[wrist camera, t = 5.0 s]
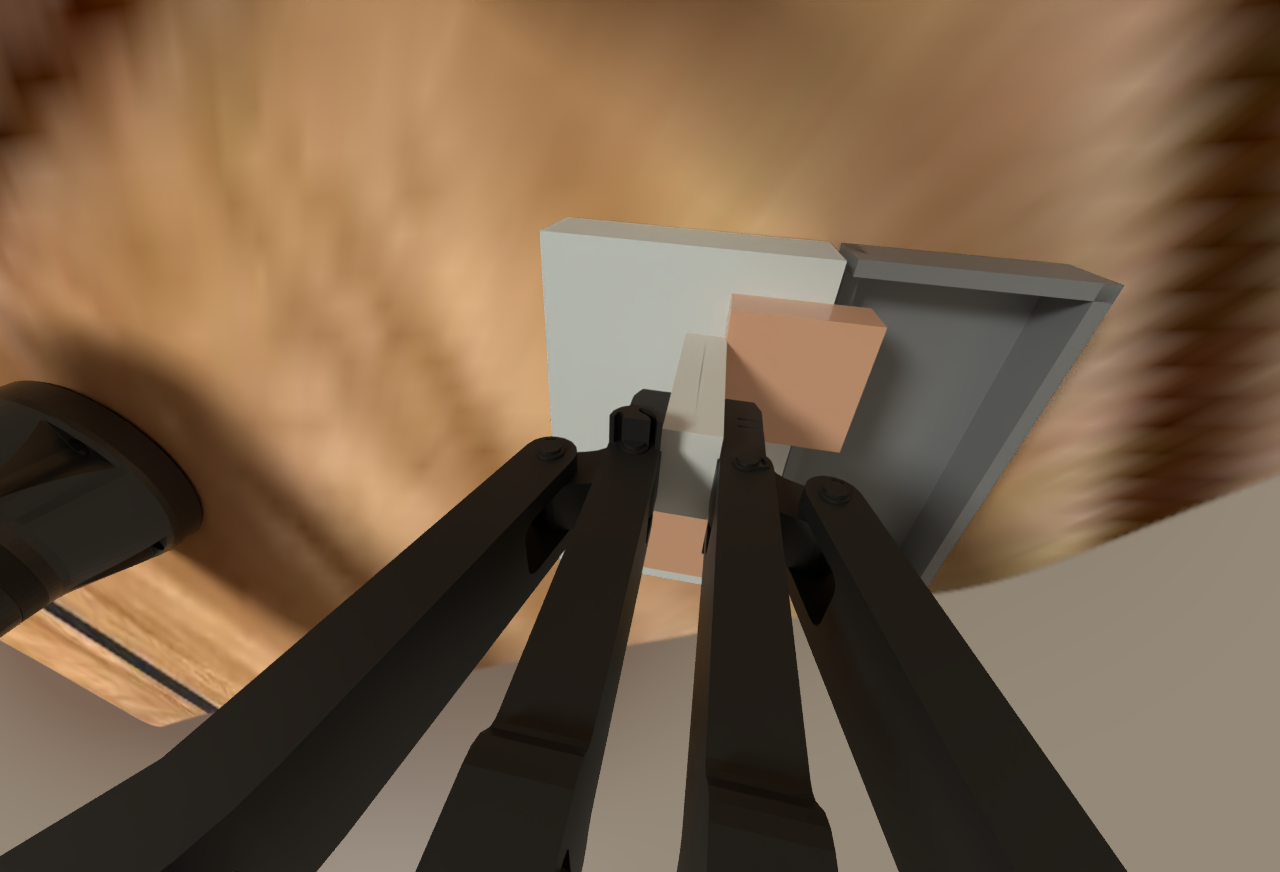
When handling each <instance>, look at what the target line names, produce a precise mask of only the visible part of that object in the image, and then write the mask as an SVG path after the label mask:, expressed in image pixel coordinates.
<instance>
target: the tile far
mask: <svg viewBox="0 0 1280 872" xmlns="http://www.w3.org/2000/svg"><path fill="white" fill-rule="evenodd" d="M707 523H708V518H707V520H705V519H698V518H692V517H686V516H680V515H675V514H669V513H663V512H657V511H653V520H652V527H651V532H650V537H649V542H648V546H647V551H646V556H645V561H644V565H643V567H646V568H651V569H657V570H663V571H668V572H674V573H679V574H685V575H691V576H696V577H702V570H703V557H704V554H701V553H702V548H703V543H704V538H705V533H706V528H707Z"/></svg>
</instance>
